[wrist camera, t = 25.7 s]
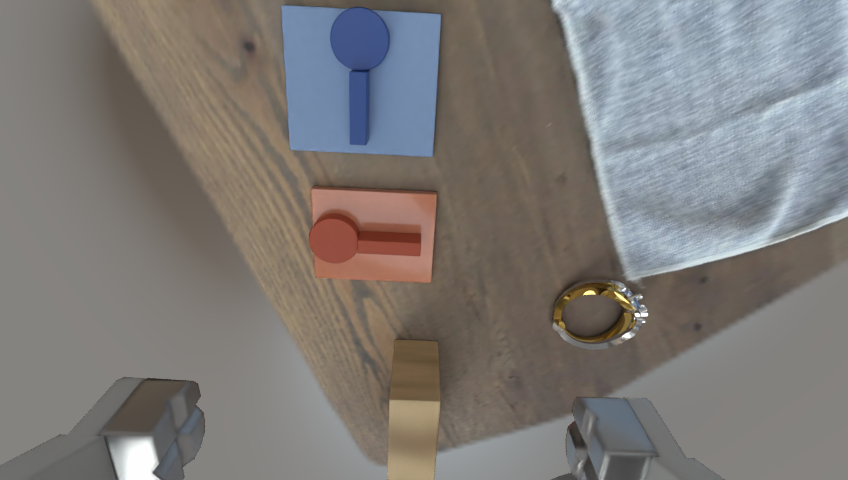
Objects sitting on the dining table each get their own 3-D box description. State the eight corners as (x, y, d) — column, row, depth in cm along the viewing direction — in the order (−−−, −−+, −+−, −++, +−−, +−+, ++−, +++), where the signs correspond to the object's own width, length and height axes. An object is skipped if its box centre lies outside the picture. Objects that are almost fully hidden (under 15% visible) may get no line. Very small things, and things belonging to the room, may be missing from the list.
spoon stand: (432, 414, 48) (433, 484, 40) (392, 413, 48) (387, 482, 40) (437, 340, 44) (440, 401, 37) (395, 339, 44) (389, 399, 37)
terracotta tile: (431, 278, 42) (431, 283, 41) (317, 273, 41) (315, 278, 41) (436, 191, 38) (436, 194, 38) (313, 185, 38) (310, 188, 37)
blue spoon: (387, 141, 36) (385, 146, 34) (335, 138, 36) (330, 143, 34) (391, 9, 32) (389, 8, 31) (332, 6, 32) (327, 4, 30)
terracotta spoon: (422, 217, 38) (422, 226, 37) (419, 261, 40) (419, 272, 38) (310, 211, 38) (305, 220, 36) (312, 256, 40) (307, 267, 38)
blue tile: (432, 154, 37) (432, 157, 36) (292, 147, 37) (289, 150, 36) (441, 14, 33) (441, 13, 33) (283, 5, 33) (280, 4, 32)
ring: (560, 344, 46) (648, 326, 43) (564, 366, 43) (658, 348, 40) (540, 283, 43) (632, 261, 41) (543, 302, 40) (642, 280, 38)
